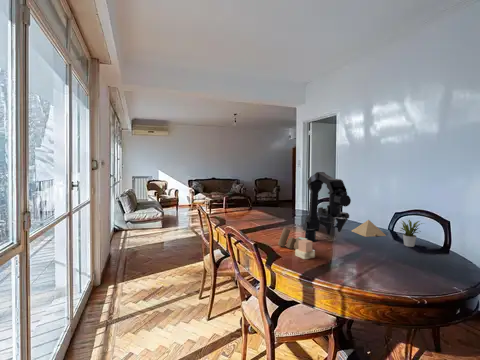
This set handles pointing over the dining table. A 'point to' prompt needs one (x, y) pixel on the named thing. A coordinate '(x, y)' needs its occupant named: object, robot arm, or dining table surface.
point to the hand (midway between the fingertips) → (333, 233)
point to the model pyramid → (368, 230)
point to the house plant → (410, 233)
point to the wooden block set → (290, 241)
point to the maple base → (304, 254)
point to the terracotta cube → (305, 245)
